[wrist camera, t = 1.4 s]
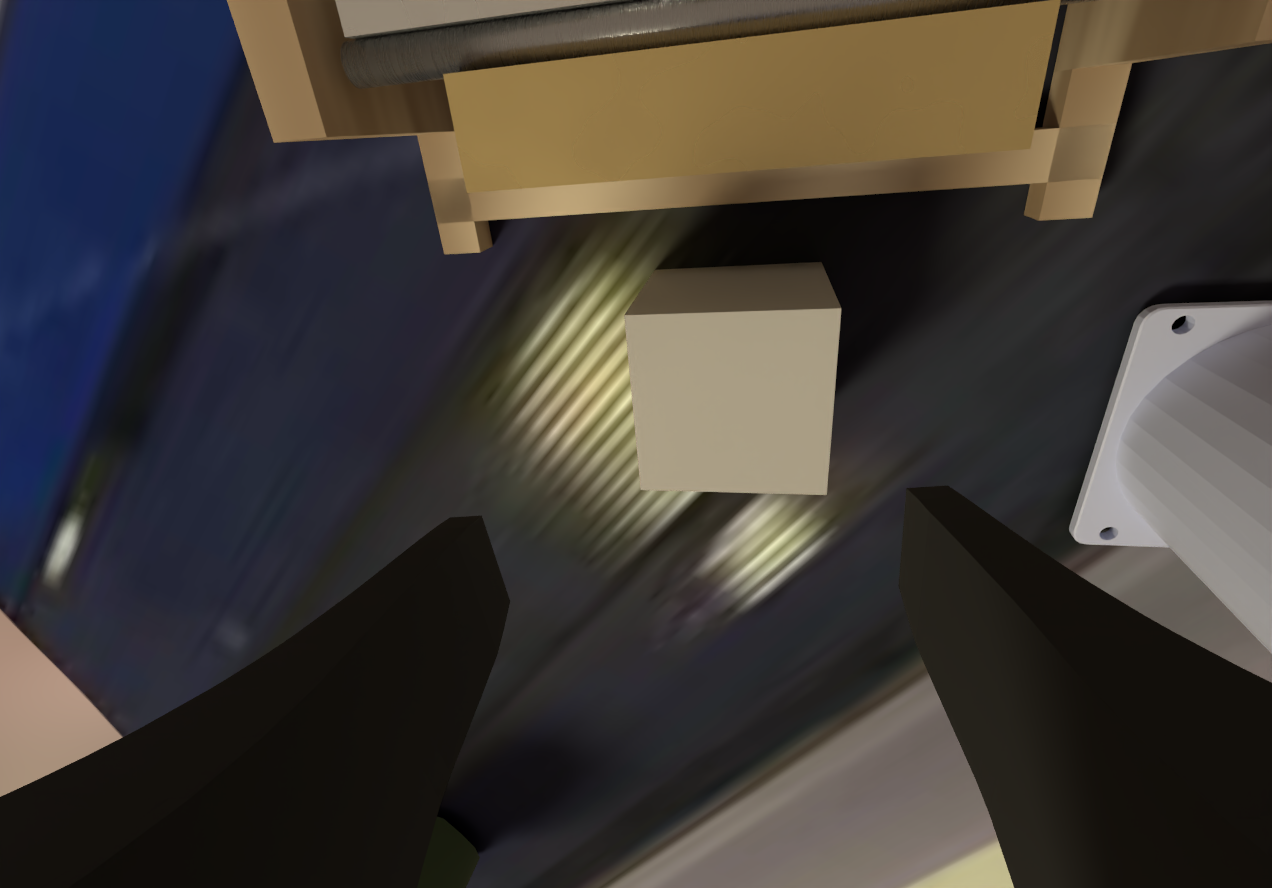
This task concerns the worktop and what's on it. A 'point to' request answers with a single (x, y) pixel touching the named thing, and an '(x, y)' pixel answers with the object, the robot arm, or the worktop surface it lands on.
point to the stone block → (734, 378)
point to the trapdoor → (708, 81)
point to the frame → (1054, 167)
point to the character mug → (447, 858)
